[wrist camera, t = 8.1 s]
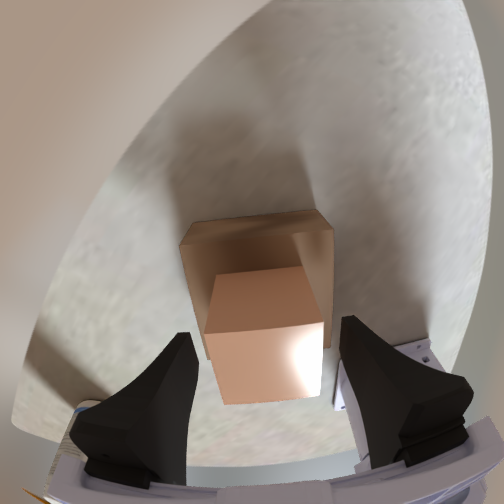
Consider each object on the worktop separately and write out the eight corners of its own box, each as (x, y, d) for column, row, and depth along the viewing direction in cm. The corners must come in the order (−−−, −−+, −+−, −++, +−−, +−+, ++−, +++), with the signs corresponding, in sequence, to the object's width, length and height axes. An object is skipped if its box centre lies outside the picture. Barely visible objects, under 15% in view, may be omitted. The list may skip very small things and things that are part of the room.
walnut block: (316, 209, 18) (334, 229, 14) (318, 313, 21) (330, 347, 17) (192, 222, 18) (178, 245, 15) (213, 323, 21) (207, 359, 18)
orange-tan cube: (302, 265, 15) (323, 322, 10) (304, 333, 17) (319, 395, 12) (216, 274, 15) (203, 334, 11) (229, 340, 17) (223, 404, 12)
